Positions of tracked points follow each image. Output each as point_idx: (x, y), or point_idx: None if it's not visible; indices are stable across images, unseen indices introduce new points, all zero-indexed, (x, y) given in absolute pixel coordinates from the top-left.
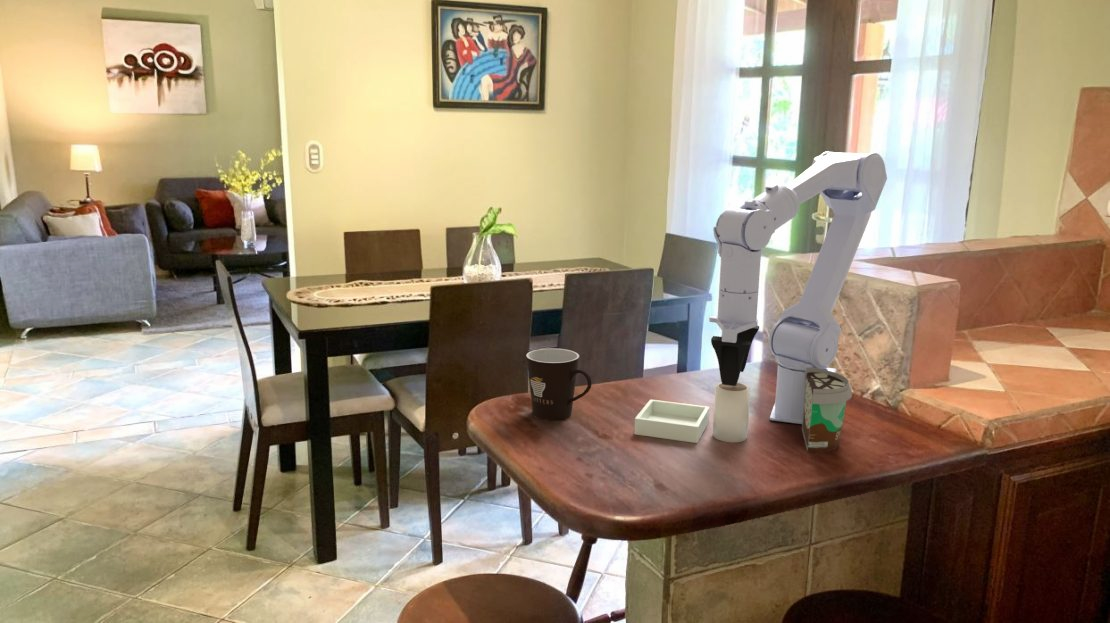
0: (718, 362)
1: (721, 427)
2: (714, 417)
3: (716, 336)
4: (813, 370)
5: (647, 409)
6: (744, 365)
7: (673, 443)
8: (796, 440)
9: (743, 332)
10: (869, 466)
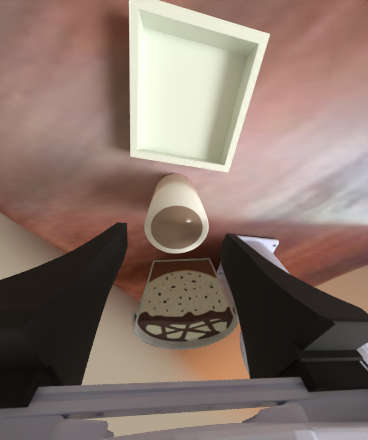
0: (75, 249)
1: (155, 189)
2: (167, 182)
3: (22, 343)
4: (232, 325)
5: (210, 32)
6: (223, 265)
7: (122, 114)
8: (180, 253)
9: (265, 351)
10: (138, 292)
